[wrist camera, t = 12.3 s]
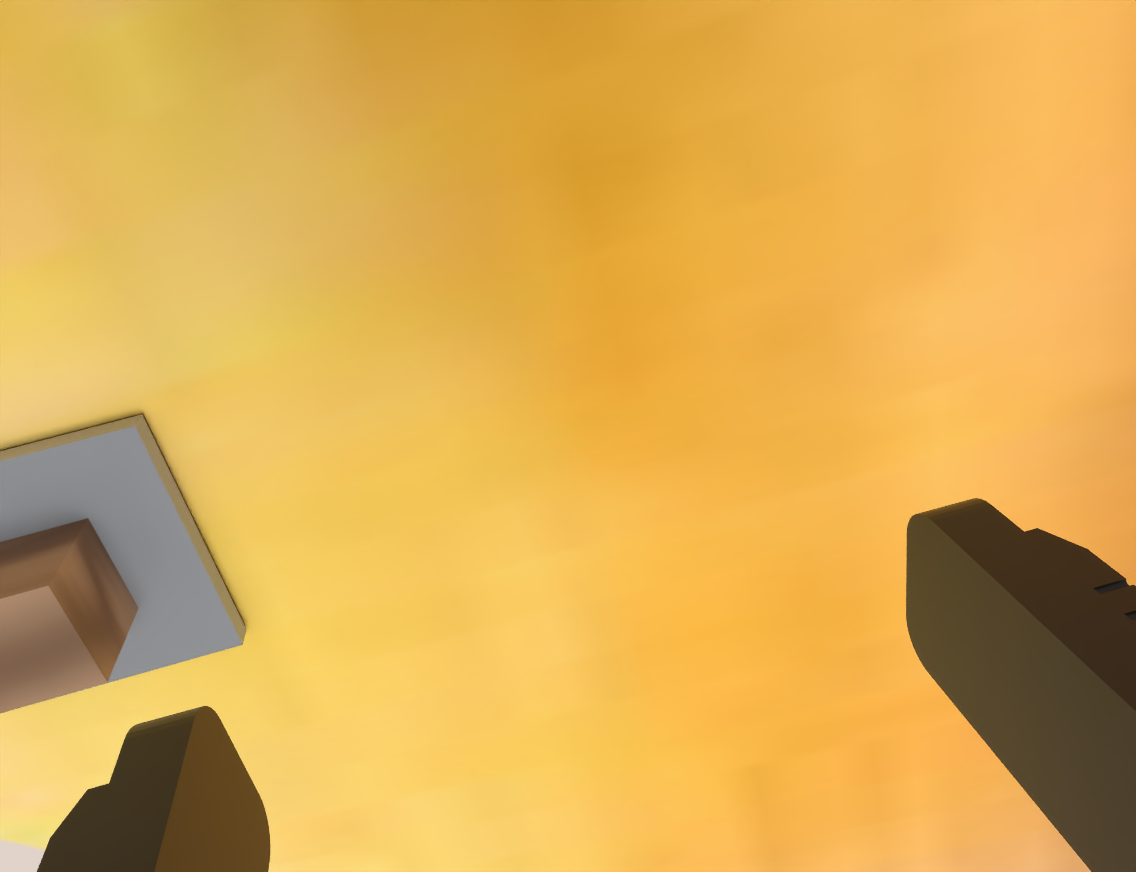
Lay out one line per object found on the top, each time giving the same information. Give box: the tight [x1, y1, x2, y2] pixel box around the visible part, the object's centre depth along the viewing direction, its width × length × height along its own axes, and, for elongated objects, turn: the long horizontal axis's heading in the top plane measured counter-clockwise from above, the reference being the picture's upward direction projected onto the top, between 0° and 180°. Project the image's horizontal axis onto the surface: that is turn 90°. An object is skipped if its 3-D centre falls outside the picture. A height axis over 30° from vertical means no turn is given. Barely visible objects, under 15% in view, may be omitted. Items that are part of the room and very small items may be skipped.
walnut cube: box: [0, 518, 138, 713], centre depth 36 cm, size 5×5×5 cm
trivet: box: [0, 415, 246, 708], centre depth 39 cm, size 12×12×1 cm
